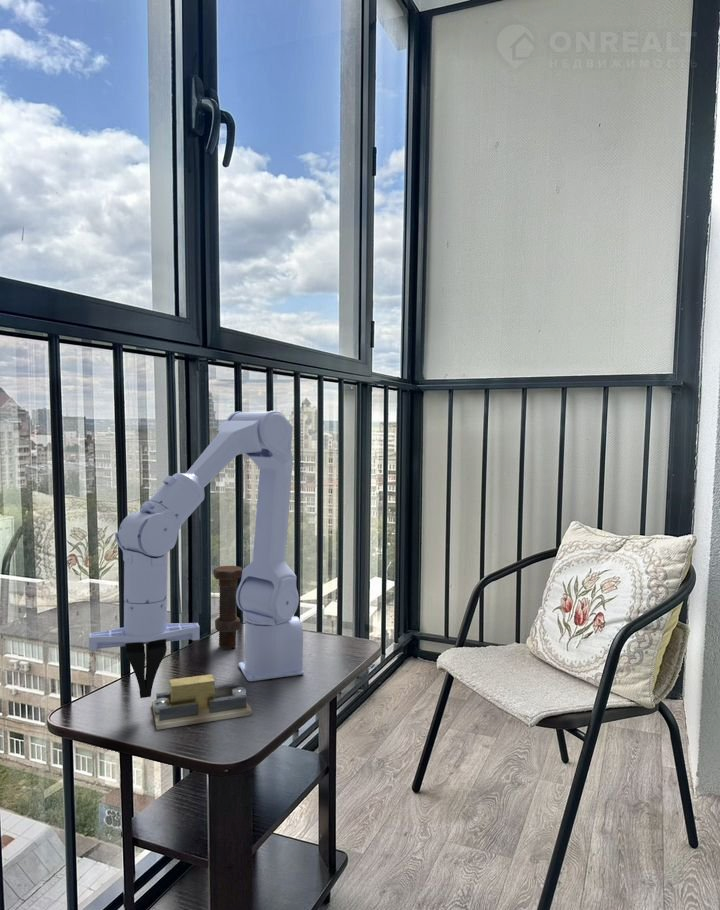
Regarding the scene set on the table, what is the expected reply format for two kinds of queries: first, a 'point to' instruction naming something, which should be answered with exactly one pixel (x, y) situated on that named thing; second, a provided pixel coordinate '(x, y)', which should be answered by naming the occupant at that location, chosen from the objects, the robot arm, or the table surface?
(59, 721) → the table surface
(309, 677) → the table surface
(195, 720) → the plywood plate
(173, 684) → the khaki rectangular block
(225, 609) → the bolt
